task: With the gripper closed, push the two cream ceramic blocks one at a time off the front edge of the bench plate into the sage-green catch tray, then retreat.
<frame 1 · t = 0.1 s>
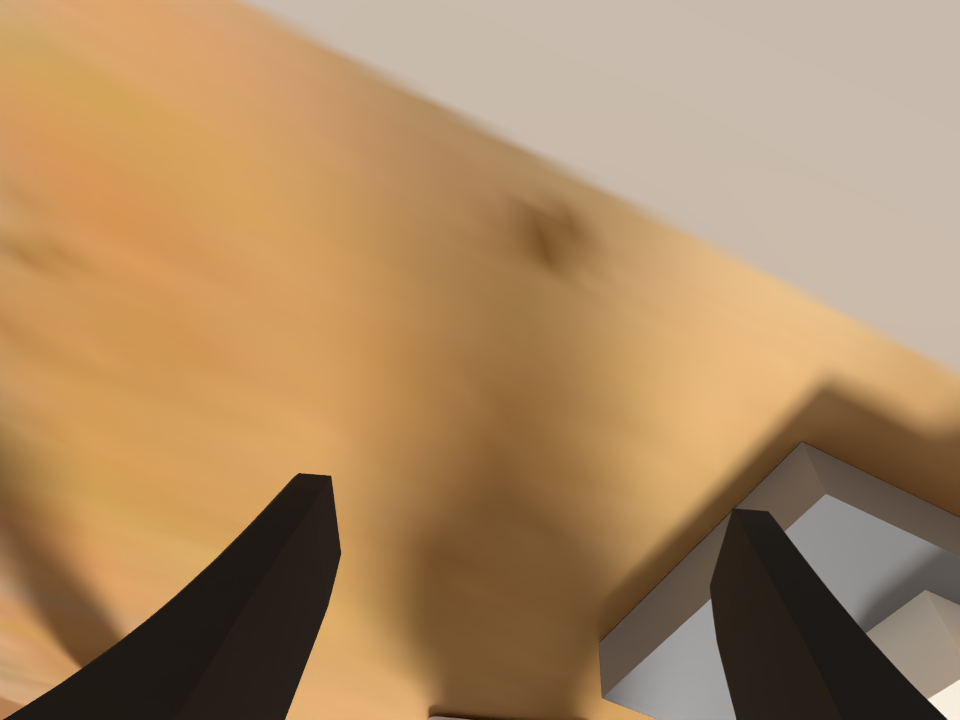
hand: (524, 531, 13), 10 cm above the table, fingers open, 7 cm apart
block a: (946, 681, 23), point 4 cm above the table, touching bench plate
bench plate: (814, 610, 28), on the table
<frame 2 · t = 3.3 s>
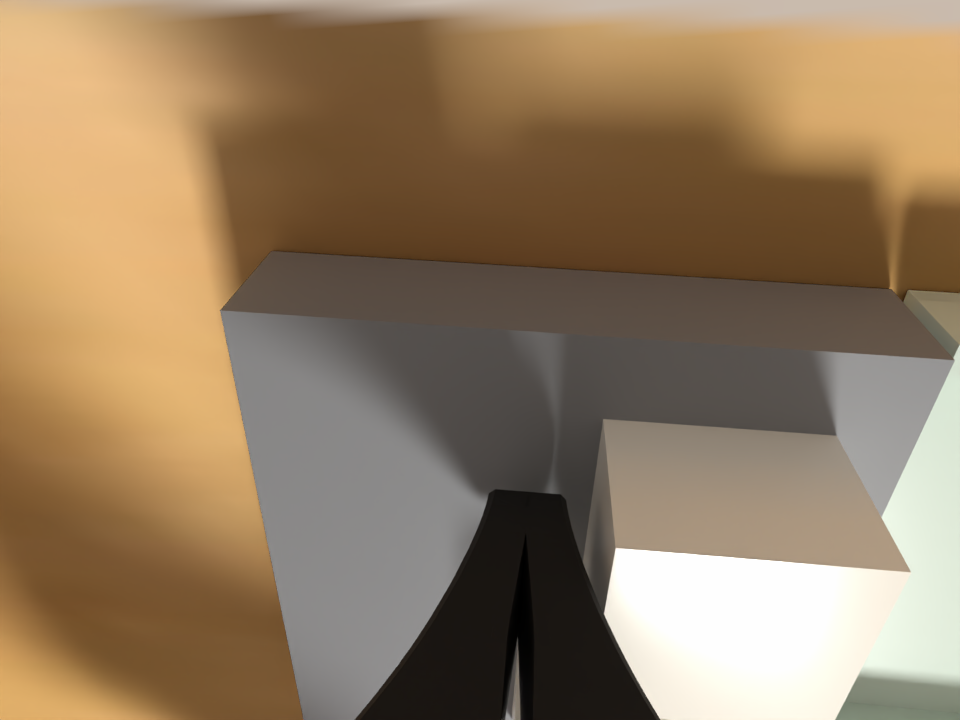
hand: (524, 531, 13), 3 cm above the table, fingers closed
block a: (712, 572, 12), point 4 cm above the table, touching bench plate, gripper
bench plate: (546, 511, 17), on the table
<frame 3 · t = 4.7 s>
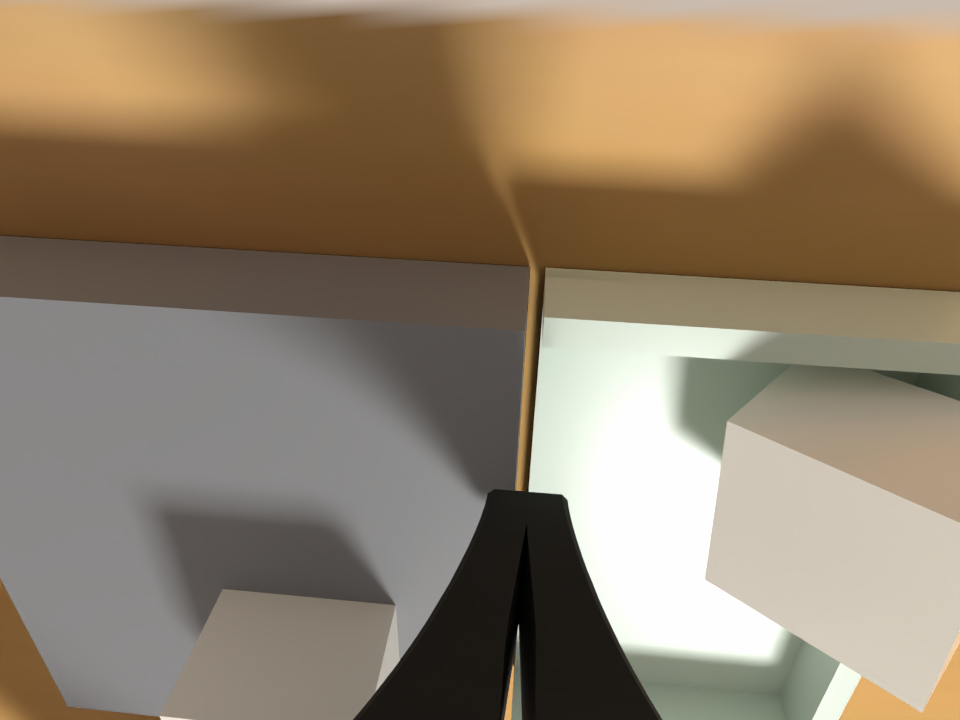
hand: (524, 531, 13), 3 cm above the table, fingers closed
block a: (860, 516, 12), point 3 cm above the table, tilted 139°, touching catch tray
catch tray: (692, 523, 17), on the table
bench plate: (276, 488, 17), on the table
block b: (298, 710, 16), point 4 cm above the table, touching bench plate
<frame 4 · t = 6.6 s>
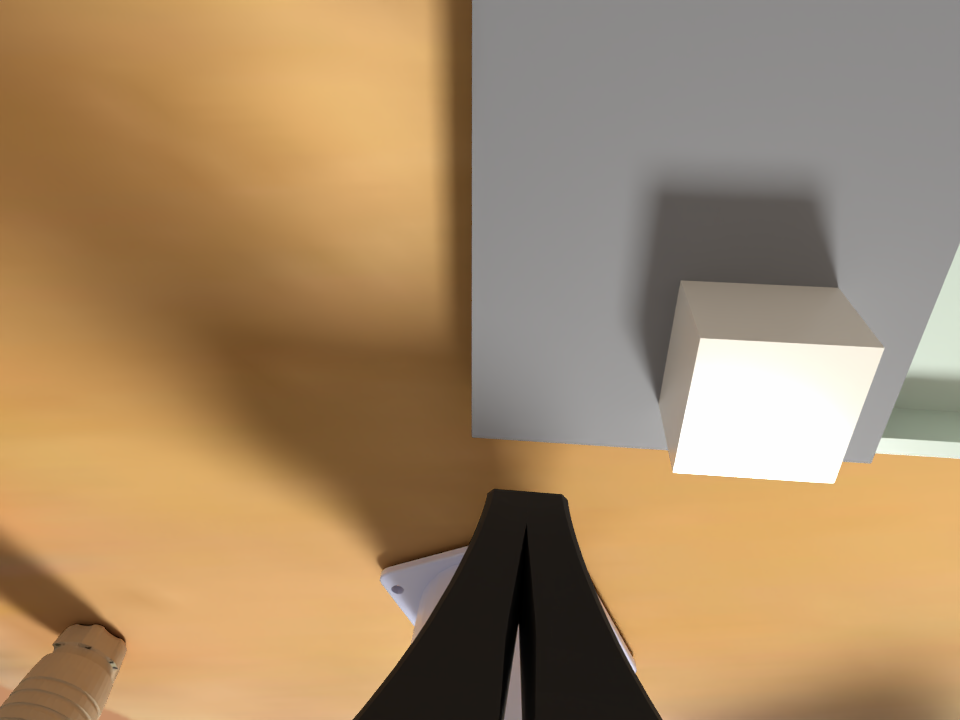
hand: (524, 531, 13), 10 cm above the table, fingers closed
bench plate: (689, 217, 20), on the table
block b: (755, 379, 18), point 4 cm above the table, touching bench plate
handle: (100, 637, 34), on the table
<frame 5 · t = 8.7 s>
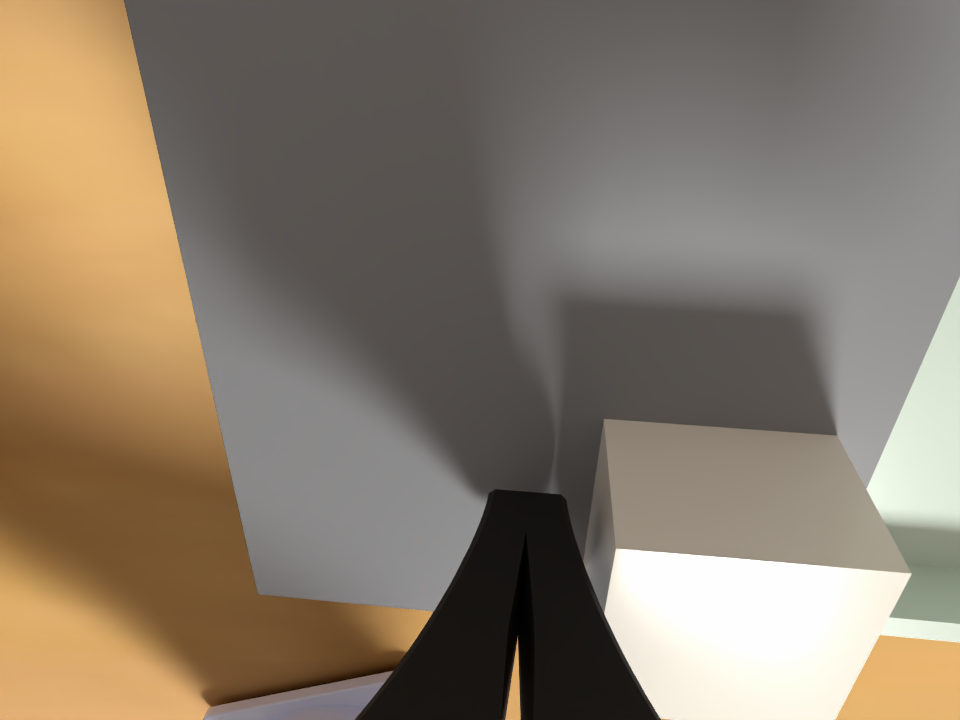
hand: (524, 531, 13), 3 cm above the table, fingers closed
bench plate: (544, 308, 14), on the table
block b: (712, 572, 12), point 4 cm above the table, touching gripper
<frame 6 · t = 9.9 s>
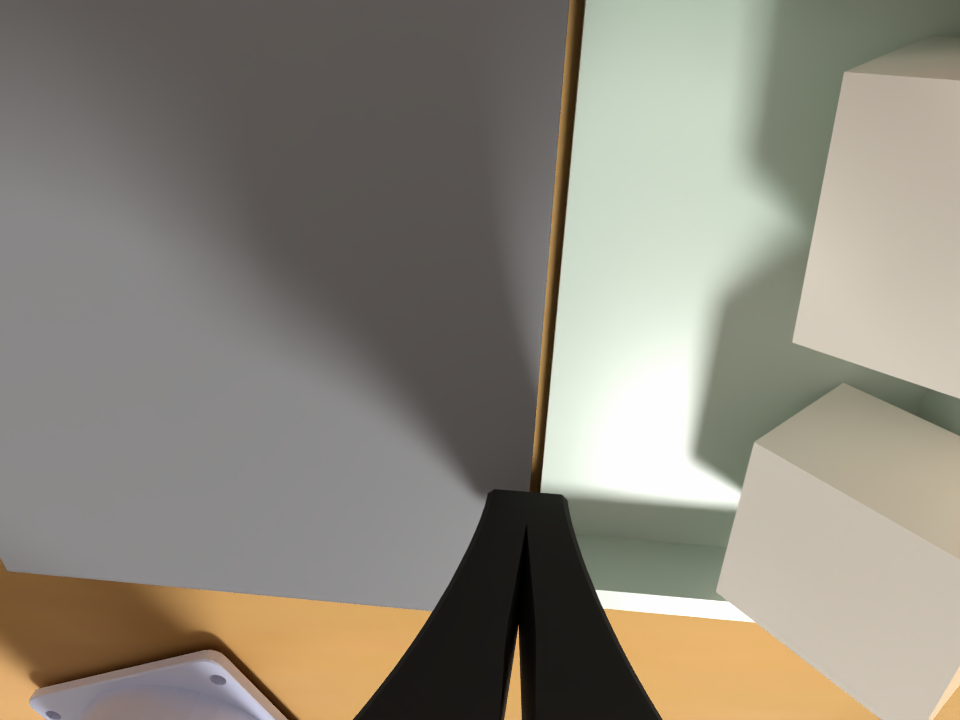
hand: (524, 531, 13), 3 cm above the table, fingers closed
catch tray: (759, 321, 14), on the table
bench plate: (252, 290, 14), on the table
block b: (875, 548, 13), point 3 cm above the table, tilted 133°, touching catch tray
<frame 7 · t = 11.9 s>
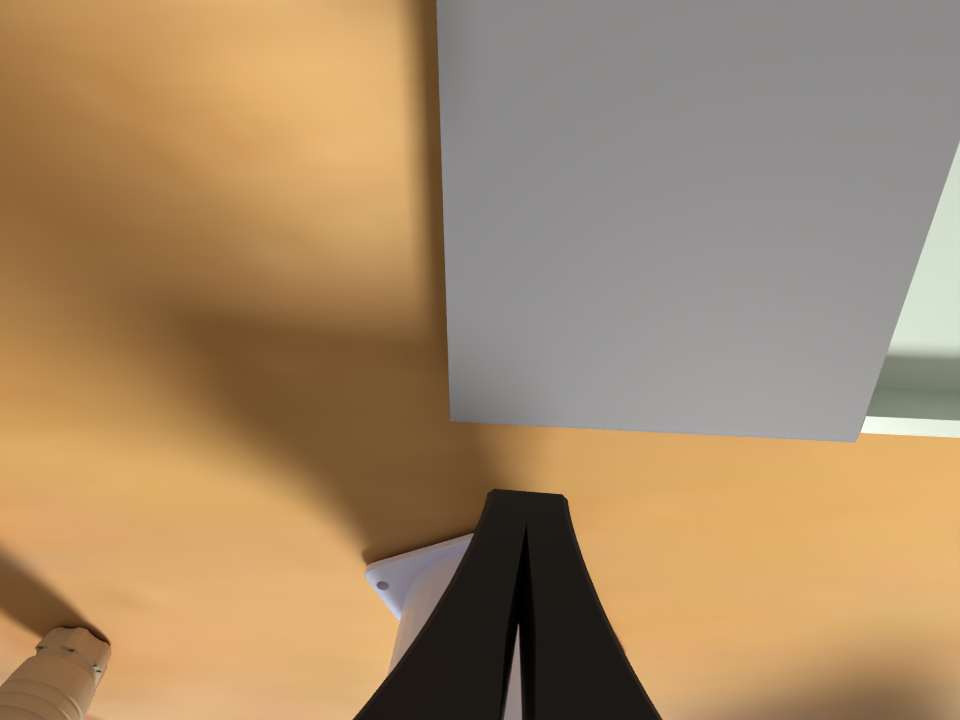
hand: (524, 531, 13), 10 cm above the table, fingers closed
bench plate: (665, 194, 20), on the table
handle: (85, 640, 33), on the table
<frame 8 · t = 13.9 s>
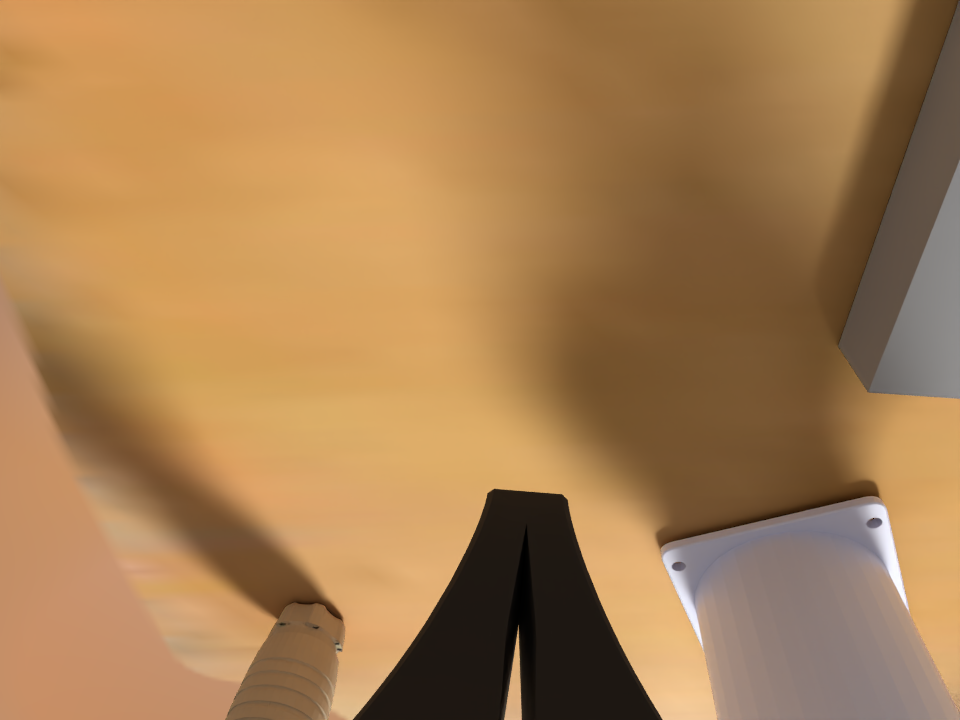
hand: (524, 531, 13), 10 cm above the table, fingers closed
handle: (314, 617, 32), on the table
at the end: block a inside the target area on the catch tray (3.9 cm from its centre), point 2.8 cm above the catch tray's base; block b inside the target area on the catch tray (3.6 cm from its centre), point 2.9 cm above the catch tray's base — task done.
